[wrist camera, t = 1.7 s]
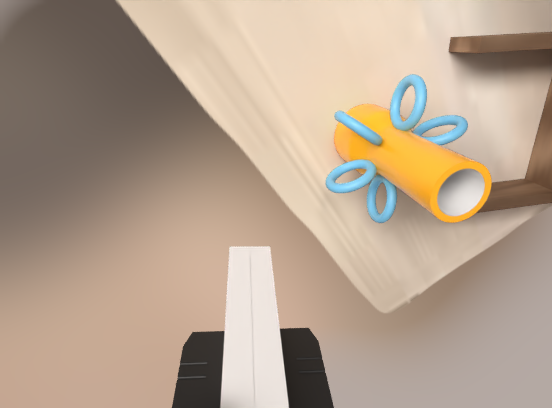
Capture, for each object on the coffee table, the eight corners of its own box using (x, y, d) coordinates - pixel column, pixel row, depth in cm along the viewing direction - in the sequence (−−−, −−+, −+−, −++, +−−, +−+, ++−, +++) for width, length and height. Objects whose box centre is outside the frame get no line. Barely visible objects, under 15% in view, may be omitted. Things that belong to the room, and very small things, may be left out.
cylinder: (404, 52, 33) (546, 61, 19) (430, 150, 37) (558, 213, 24) (284, 114, 33) (341, 166, 19) (325, 204, 38) (393, 296, 24)
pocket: (450, 37, 33) (509, 36, 26) (575, 30, 35) (657, 28, 28) (426, 200, 40) (468, 230, 33) (531, 187, 42) (589, 213, 35)
